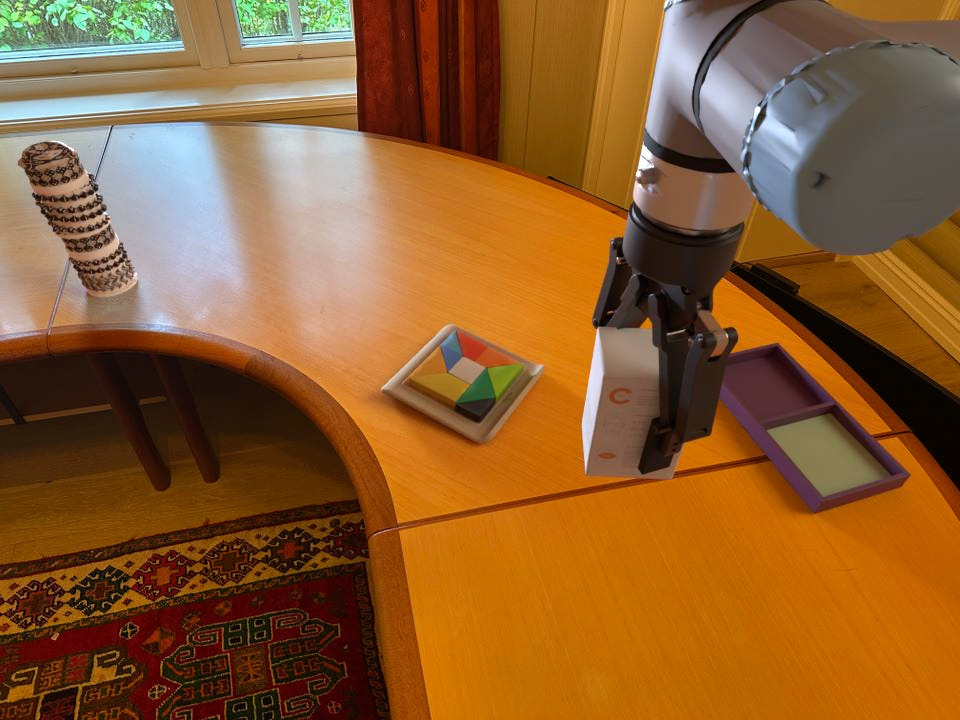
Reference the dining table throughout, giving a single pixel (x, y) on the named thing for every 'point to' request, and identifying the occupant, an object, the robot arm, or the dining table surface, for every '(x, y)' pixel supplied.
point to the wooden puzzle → (465, 383)
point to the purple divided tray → (806, 430)
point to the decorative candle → (78, 217)
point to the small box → (622, 404)
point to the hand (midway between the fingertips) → (629, 431)
